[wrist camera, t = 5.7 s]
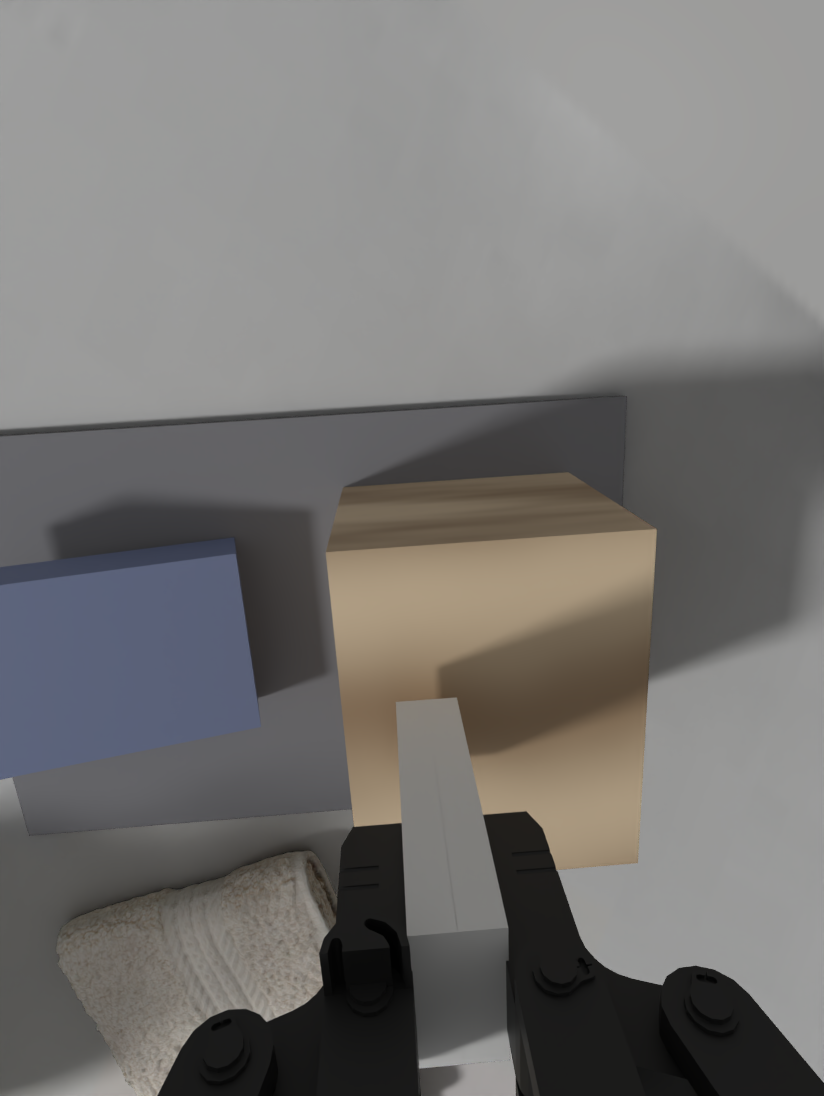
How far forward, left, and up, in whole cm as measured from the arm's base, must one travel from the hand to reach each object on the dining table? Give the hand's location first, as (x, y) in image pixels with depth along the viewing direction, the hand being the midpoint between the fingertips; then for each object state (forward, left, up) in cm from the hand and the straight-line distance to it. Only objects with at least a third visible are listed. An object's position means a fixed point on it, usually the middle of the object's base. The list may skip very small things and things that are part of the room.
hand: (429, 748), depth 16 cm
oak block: (0, -2, -9) cm, 9 cm away
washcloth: (-20, +8, -10) cm, 24 cm away
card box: (0, +10, -5) cm, 11 cm away
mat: (-1, +4, -9) cm, 10 cm away
